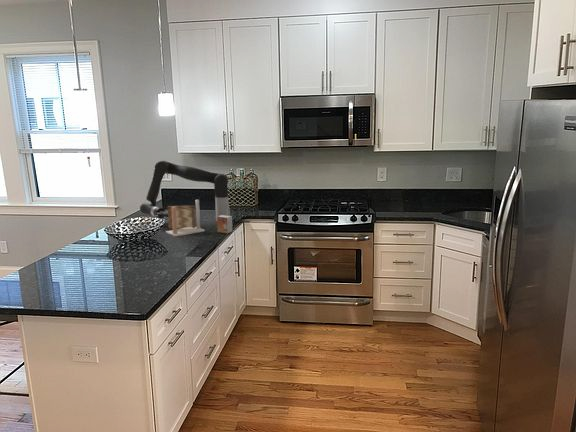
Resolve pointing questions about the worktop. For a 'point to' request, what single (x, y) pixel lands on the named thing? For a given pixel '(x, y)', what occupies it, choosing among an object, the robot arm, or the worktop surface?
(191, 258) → the worktop surface
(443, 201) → the worktop surface
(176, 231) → the gate frame
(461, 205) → the worktop surface
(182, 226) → the panel
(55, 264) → the worktop surface
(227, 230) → the small box
